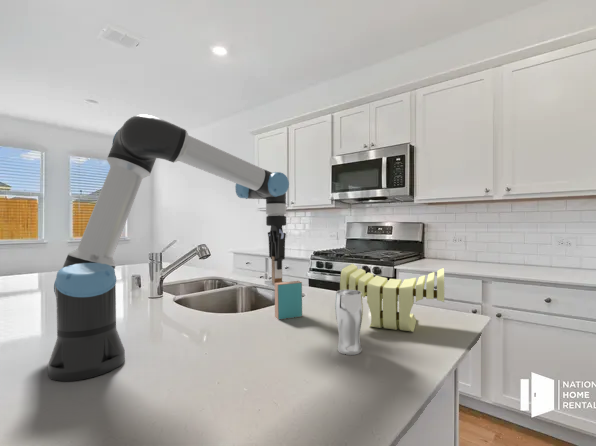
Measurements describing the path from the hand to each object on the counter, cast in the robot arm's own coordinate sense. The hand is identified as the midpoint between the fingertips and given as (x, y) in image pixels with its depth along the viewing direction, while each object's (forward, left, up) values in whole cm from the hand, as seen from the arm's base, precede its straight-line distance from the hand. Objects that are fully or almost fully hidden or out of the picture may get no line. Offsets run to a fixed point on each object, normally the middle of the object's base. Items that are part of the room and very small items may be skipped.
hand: (276, 277), depth 125 cm
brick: (-11, 0, -12) cm, 17 cm away
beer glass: (-45, -3, -12) cm, 47 cm away
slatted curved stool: (-33, -27, -12) cm, 45 cm away
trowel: (0, 0, -3) cm, 3 cm away
